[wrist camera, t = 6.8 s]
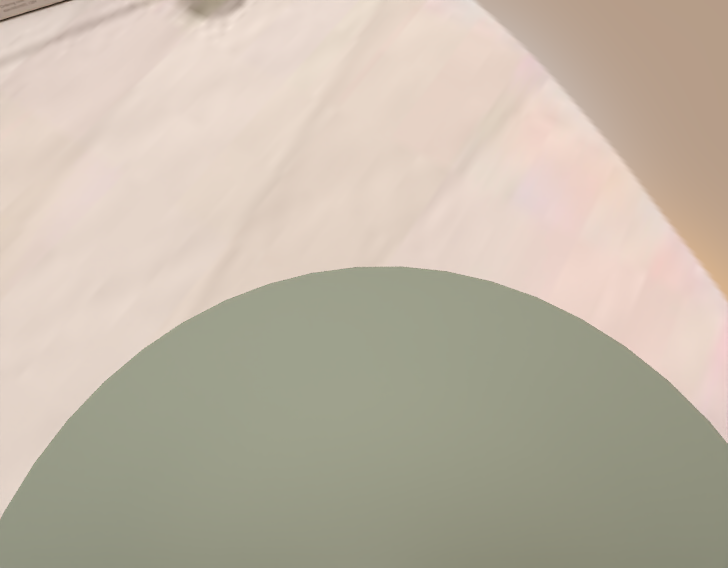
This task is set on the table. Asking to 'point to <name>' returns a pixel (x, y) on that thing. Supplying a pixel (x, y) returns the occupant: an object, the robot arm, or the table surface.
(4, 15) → the light bulb box
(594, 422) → the sage cover
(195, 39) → the table surface
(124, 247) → the table surface
